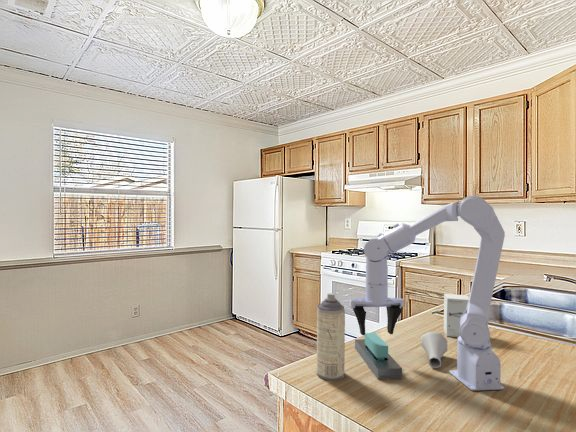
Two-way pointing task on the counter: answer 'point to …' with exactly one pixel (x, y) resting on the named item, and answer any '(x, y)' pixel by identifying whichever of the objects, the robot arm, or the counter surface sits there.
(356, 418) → the counter surface
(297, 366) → the counter surface
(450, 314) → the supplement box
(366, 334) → the clip
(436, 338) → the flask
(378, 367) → the rail
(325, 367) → the aerosol can
